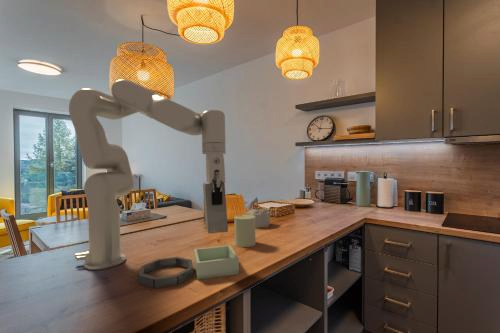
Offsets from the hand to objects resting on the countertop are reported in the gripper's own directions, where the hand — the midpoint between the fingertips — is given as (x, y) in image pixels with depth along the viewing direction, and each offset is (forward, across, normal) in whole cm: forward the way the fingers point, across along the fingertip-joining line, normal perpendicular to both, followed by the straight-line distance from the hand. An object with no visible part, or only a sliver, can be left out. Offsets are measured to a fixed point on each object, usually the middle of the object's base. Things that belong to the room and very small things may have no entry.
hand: (214, 202), depth 80 cm
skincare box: (+9, 0, 0) cm, 9 cm away
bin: (+22, 0, 0) cm, 22 cm away
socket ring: (+22, 0, +15) cm, 26 cm away
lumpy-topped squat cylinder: (+22, +49, -32) cm, 62 cm away
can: (+22, +21, -16) cm, 34 cm away
